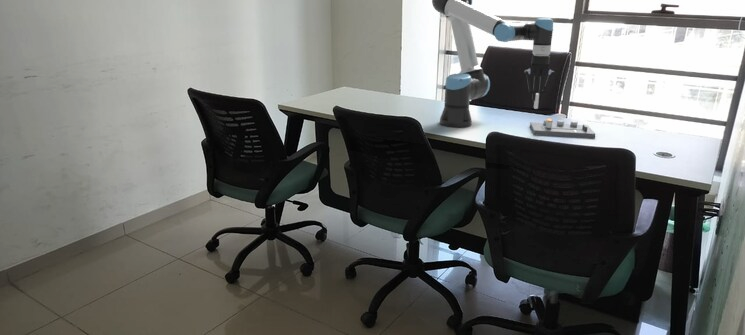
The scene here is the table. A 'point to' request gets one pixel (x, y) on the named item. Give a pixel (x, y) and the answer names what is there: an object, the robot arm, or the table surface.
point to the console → (562, 129)
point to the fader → (549, 123)
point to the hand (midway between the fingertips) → (535, 108)
